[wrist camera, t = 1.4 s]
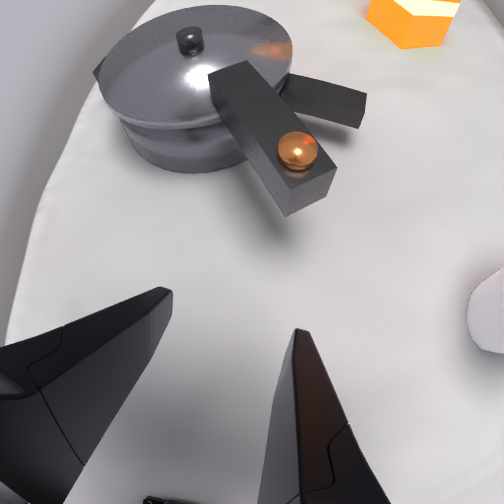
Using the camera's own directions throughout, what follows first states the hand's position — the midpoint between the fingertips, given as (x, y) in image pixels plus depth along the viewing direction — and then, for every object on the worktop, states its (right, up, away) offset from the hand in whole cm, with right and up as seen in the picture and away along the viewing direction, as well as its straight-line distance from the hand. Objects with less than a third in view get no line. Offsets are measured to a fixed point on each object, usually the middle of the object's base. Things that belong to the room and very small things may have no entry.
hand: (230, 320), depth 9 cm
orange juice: (+22, +33, +24) cm, 46 cm away
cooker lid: (-2, +14, +12) cm, 19 cm away
